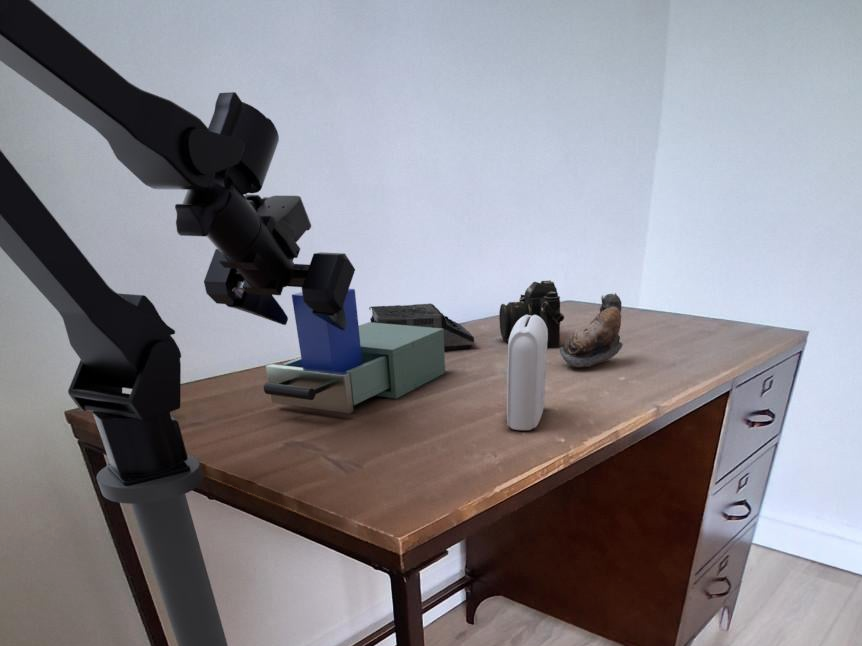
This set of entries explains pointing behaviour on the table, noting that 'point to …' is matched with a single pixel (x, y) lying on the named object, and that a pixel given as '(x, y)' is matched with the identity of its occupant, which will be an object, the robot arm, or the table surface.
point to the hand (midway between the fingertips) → (315, 324)
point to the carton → (328, 337)
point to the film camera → (534, 310)
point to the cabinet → (405, 354)
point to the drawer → (328, 384)
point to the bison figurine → (596, 336)
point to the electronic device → (424, 322)
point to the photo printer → (526, 372)
